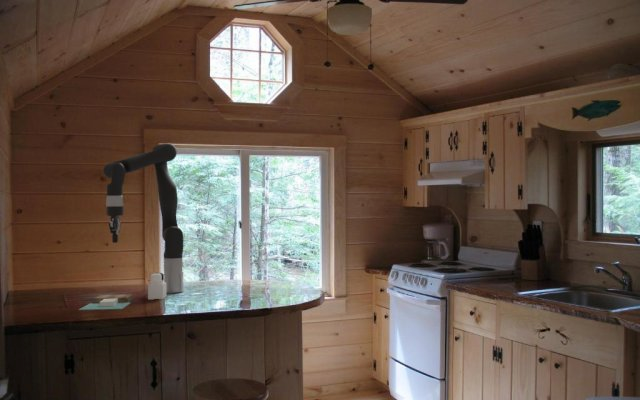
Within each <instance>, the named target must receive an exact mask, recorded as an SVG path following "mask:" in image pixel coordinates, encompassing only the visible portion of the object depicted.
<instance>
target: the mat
mask: <svg viewBox="0 0 640 400" xmlns="http://www.w3.org/2000/svg"><path fill="white" fill-rule="evenodd" d="M131 303H132V301H130V302H128V303H117V304H116V305H115V306H100V303H94V302H93V303H92V302H91V303H88V304H87V305H85V306H82V307H81V308H79V309H78V311H96V310H97V311H100V310H123V309H124V308H126V307H127V306H129V305H130V304H131Z"/></svg>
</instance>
